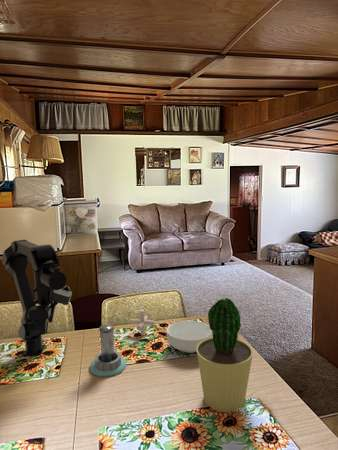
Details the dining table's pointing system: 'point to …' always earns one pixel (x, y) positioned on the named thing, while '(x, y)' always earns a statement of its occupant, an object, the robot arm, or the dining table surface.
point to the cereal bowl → (187, 335)
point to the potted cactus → (224, 359)
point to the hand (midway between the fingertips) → (47, 328)
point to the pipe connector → (142, 322)
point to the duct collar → (108, 366)
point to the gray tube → (107, 343)
